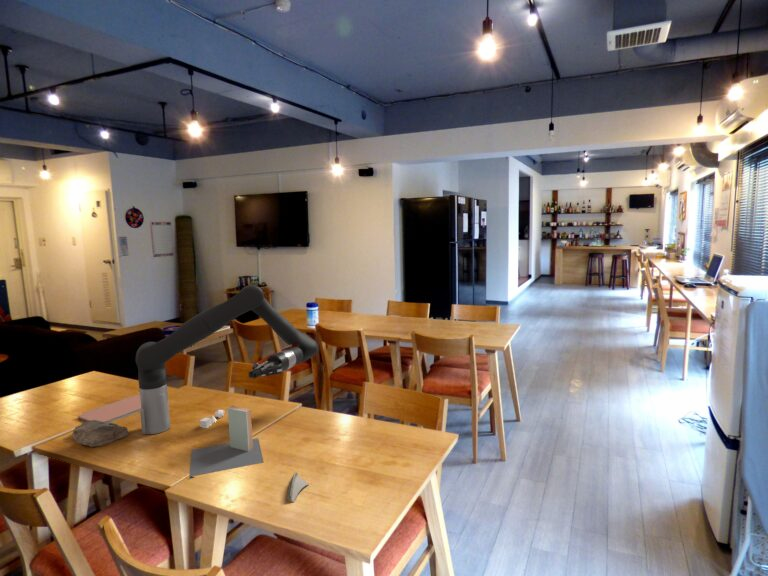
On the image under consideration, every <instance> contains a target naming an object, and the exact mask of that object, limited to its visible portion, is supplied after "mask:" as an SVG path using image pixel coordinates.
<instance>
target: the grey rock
mask: <svg viewBox="0 0 768 576" xmlns="http://www.w3.org/2000/svg"><path fill="white" fill-rule="evenodd" d="M128 435H129V430H128V428H127V426H121V425H119V424H117V423H114V422H110V423H108V422H102V421H97V420H90V421H84V422H82V423H81V424H79V425H78V426H75V428H74V429H73V433H72V438H73V440H74V441H75V442H76V443H78V444H80V445H84V446H89V447H90V448H93V447H102V446H105V445H108V444H111V443H113V442H114V441H117V440H119V439H123V438H125V437H128Z"/></svg>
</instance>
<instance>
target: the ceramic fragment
mask: <svg viewBox="0 0 768 576" xmlns="http://www.w3.org/2000/svg"><path fill="white" fill-rule="evenodd" d="M308 486H309V483H308V482H307V481H306V480H304V478H301V477H300V476H299V475H298V472H297V471H295V472H294V473H293V475H292V477H291V480H290V482H289V487H288V492H287V500H288V502H289V503H292V504H294V503H295V502H296V501H297V500H296V499H297V497H298V495H299V494H300V492H302V491H303V490H304V489H305V488H306V487H308Z"/></svg>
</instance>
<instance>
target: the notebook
mask: <svg viewBox="0 0 768 576" xmlns="http://www.w3.org/2000/svg"><path fill="white" fill-rule="evenodd" d="M140 409H141V401H140V394H136V395H132V396H129V397H127V398H123V399H121V400H117V401H115V402H112V403H108V404H104V405H103V406H99V407H96V408H94V409H91V410H87V411H85V412H83V413H81V414H78V415H77V417H78V419H80V420H82V421H84V422H87V421H90V420H97V421H102V422H108V423H114V422H115V421H118V420H121V419H123V418H125V417H128V416H130V415H131V414H132V415H134V414H137V413H140V412H139V411H140ZM136 412H137V413H136Z"/></svg>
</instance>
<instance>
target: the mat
mask: <svg viewBox="0 0 768 576" xmlns="http://www.w3.org/2000/svg"><path fill="white" fill-rule="evenodd" d="M252 440H253V449H251V450H250V451H245V450H241V449H237V448H233V447H230V442H228V443H223V444H217V445H211V446H206V447H200V448H194V449H191V452H190V453H191V454H190V464H189V465H190V466H189V477H188V478H189V479H194V478H196V476H200V475H207V474H212V473H215V472H217V473H218V472H222V471H226V470H227V471H228V470H232V469H237V468H243V467H247V466H253V465H258V464H259V465H260V464H263V463H264V457H263V454H262V453H263V452H262V449H261V444H260V440H259V438H258V437H257V438H252Z"/></svg>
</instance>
